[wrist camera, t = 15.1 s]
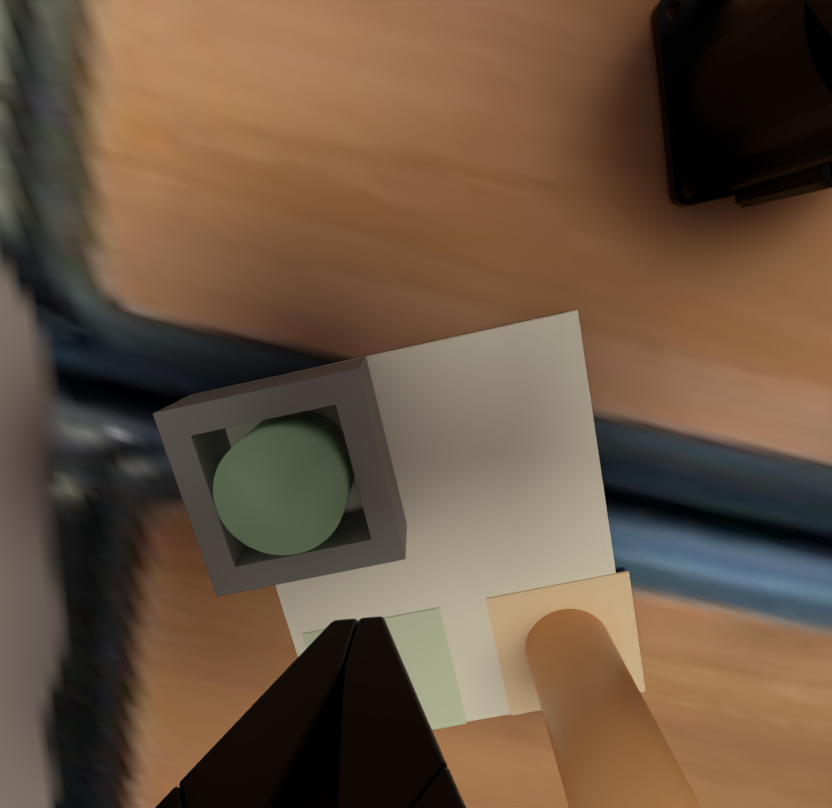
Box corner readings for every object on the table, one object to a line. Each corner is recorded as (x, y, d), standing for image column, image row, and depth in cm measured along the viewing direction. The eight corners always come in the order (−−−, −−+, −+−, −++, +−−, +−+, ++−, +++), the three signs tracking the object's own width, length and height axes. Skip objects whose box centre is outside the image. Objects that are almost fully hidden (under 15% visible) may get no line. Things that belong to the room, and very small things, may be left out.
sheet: (191, 394, 20) (152, 413, 17) (588, 307, 19) (619, 311, 16) (306, 745, 24) (291, 810, 21) (641, 684, 23) (674, 743, 20)
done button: (228, 422, 20) (195, 447, 17) (340, 398, 19) (326, 419, 16) (261, 526, 21) (235, 566, 18) (367, 504, 20) (359, 541, 17)
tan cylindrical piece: (518, 618, 22) (621, 977, 10) (603, 601, 21) (800, 950, 10) (533, 688, 22) (643, 1090, 11) (615, 672, 22) (811, 1068, 11)
